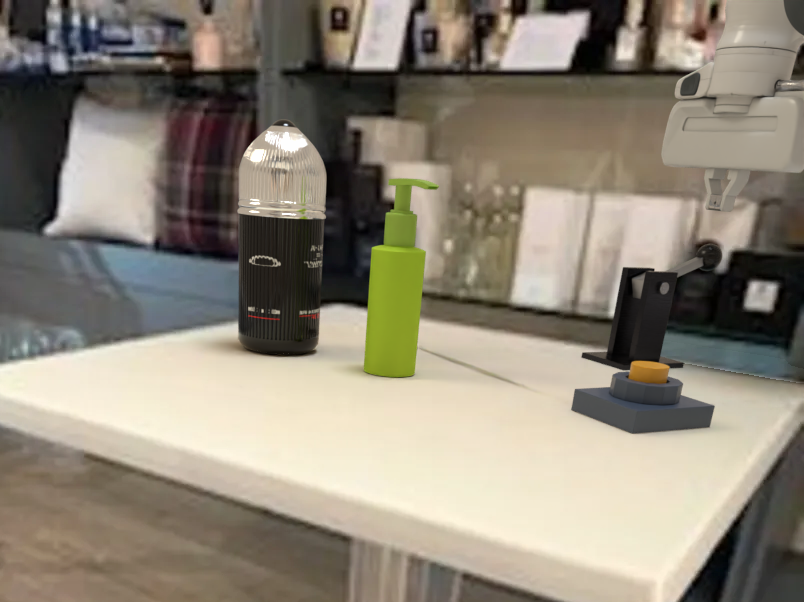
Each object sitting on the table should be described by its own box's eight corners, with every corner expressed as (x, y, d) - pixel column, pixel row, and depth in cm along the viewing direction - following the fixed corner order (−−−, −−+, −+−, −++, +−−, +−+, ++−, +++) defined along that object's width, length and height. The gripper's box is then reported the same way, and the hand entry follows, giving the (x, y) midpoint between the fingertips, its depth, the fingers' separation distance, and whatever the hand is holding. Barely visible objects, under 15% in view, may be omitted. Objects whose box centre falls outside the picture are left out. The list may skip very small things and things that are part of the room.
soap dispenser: (399, 381, 96) (417, 179, 87) (353, 369, 100) (364, 175, 91) (432, 375, 100) (451, 181, 91) (385, 364, 104) (400, 177, 95)
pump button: (647, 377, 88) (651, 360, 87) (673, 386, 85) (677, 367, 84) (620, 379, 86) (623, 361, 85) (646, 387, 83) (649, 369, 83)
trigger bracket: (638, 359, 118) (657, 266, 113) (682, 372, 112) (704, 274, 106) (580, 361, 114) (597, 265, 108) (622, 374, 107) (642, 273, 102)
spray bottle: (331, 347, 111) (343, 125, 100) (301, 360, 102) (310, 118, 92) (257, 338, 114) (261, 120, 103) (222, 349, 105) (221, 113, 94)
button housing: (645, 405, 93) (653, 367, 91) (709, 427, 86) (719, 387, 84) (570, 410, 89) (577, 370, 87) (632, 434, 81) (641, 391, 80)
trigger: (708, 264, 113) (708, 238, 111) (728, 267, 111) (728, 241, 109) (630, 299, 110) (628, 274, 108) (648, 303, 107) (646, 277, 106)
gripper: (844, 81, 95) (806, 218, 101) (703, 88, 112) (677, 206, 118) (806, 74, 93) (769, 216, 99) (666, 82, 109) (642, 203, 115)
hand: (718, 210), depth 108 cm, fingers closed
